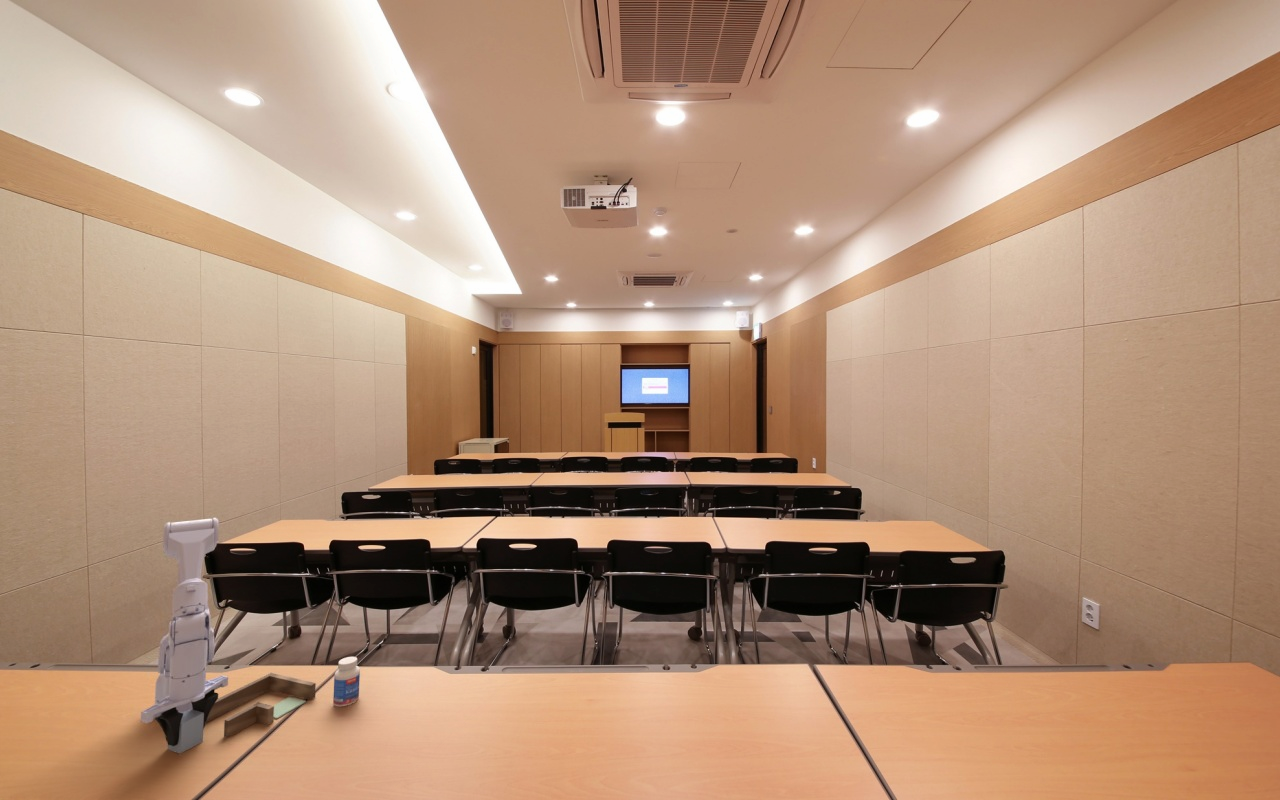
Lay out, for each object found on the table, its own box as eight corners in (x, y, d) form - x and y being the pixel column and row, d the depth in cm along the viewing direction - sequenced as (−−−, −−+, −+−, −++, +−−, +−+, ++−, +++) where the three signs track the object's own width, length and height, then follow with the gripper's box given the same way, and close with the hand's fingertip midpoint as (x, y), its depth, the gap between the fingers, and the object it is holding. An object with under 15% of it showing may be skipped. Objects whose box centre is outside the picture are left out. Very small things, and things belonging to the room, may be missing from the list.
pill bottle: (347, 709, 117) (348, 667, 117) (327, 706, 118) (328, 664, 118) (364, 696, 122) (365, 656, 122) (345, 693, 123) (346, 654, 124)
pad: (259, 714, 114) (259, 713, 114) (289, 698, 121) (289, 696, 121) (277, 719, 113) (277, 717, 113) (305, 702, 119) (306, 700, 119)
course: (192, 726, 110) (192, 710, 110) (270, 686, 126) (270, 672, 126) (240, 741, 105) (240, 724, 105) (315, 697, 121) (315, 683, 121)
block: (167, 749, 102) (168, 720, 102) (190, 737, 106) (191, 709, 106) (180, 753, 101) (181, 723, 101) (202, 741, 105) (203, 712, 105)
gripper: (158, 693, 96) (155, 764, 95) (238, 658, 110) (236, 720, 109) (135, 687, 98) (132, 756, 98) (216, 653, 112) (214, 714, 111)
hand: (185, 737), depth 104 cm, fingers closed on block, 4 cm apart
